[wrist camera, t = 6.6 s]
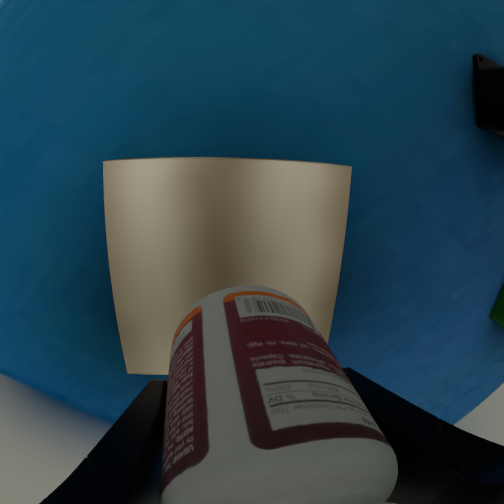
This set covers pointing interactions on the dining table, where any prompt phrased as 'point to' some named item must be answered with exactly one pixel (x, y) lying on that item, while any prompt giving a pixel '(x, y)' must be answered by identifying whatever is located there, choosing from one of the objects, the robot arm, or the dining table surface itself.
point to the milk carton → (499, 309)
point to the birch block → (218, 240)
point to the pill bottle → (265, 410)
